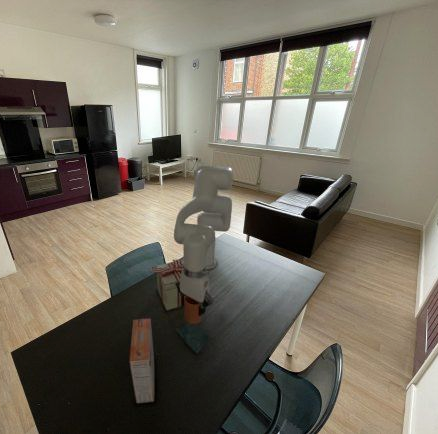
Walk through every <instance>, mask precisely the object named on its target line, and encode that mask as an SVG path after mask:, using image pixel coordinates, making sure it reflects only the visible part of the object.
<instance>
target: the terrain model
mask: <svg viewBox="0 0 438 434" xmlns="http://www.w3.org/2000/svg"><path fill="white" fill-rule="evenodd" d="M174 331H175V332H177V333H178V335H180V337H181V338H182V339H183V341H184V342H185V343H186V344H187V346H189V348H190V349H192V351H193V352H194V353H195V354H199V352H200V351H201V349H202V348H203V347H204V346H205V345H206V344H207V343H209V342H210V341H211V339H212V338H211V337H210V336H209V335H207V334H206V333H205V331H203V330H202V329H200V327H199V326H197V325H196V324H191V323H188V322H187V321H186V322H185V324H183V325H182V326H181V327H177V328H174Z"/></svg>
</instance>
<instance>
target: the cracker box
mask: <svg viewBox="0 0 438 434" xmlns="http://www.w3.org/2000/svg"><path fill="white" fill-rule="evenodd" d="M152 329H153V328H152V319H151V317H150V318H139V319H133V320H132V329H131V341H130V352H129V366H130V373H131V378H132V379H131V380H132V385H133V390H134V396H135V402H136V404H144V403H153V402H155V351H154V341H153V330H152Z"/></svg>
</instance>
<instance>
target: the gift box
mask: <svg viewBox="0 0 438 434" xmlns="http://www.w3.org/2000/svg"><path fill="white" fill-rule="evenodd" d="M182 269H183V259H178V258H177V259H172V261H170V262H167V263H162V264H159V265H155V266H154V267H153V266H152V267H151V270H152V273H154V274H156V281H157V282H156V283H157V291H158V294H159V297H160V300H161V302H162V304H163V306H164V308H165V311H171V310H173V309H177V308H181V307H183V306H182V297H181V296H180V292H179V291H178V288H177V287H176V285H175V283H176V282H178V281H180V277H181V273H182Z"/></svg>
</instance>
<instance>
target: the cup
mask: <svg viewBox="0 0 438 434" xmlns="http://www.w3.org/2000/svg"><path fill="white" fill-rule="evenodd" d="M199 307H200V304H199V302H198V301H196V300H194V299H193V298H191V297H189V296H187V295H185V296H184V306H183V318H184V320H185V322H186V323H187V322H188V323H191V324H195V325H196V324H198V323H200V322H201V321H202V320H203V314H202V315H201V316H199Z"/></svg>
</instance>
